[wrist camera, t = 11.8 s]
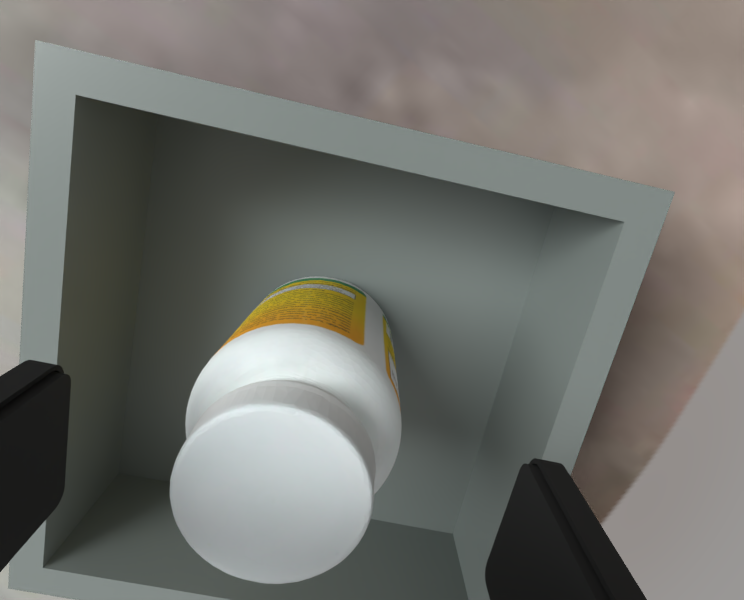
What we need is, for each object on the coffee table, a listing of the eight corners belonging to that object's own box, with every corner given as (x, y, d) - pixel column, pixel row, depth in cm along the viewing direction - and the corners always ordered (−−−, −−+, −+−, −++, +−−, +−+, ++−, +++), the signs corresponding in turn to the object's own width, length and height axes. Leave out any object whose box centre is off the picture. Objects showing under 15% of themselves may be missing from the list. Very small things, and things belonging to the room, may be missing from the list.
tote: (143, 80, 18) (34, 39, 12) (579, 183, 19) (674, 192, 13) (103, 474, 22) (8, 588, 16) (464, 540, 23) (499, 669, 17)
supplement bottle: (420, 351, 19) (468, 519, 10) (313, 433, 20) (265, 659, 11) (327, 242, 18) (282, 314, 9) (219, 332, 19) (74, 486, 10)
